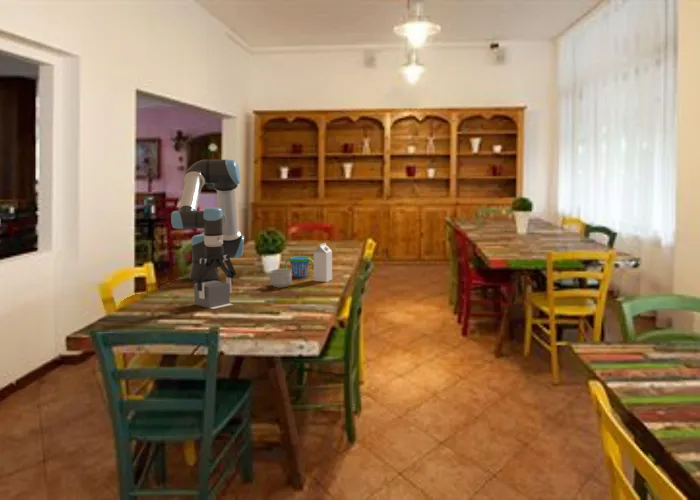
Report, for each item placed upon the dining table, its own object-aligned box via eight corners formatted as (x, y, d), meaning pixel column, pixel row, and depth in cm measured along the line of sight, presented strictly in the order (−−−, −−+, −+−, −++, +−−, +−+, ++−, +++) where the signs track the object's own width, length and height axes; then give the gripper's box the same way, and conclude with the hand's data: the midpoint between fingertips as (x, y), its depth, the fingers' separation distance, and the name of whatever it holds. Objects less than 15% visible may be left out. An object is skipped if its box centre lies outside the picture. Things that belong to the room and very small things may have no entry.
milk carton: (313, 281, 294) (313, 244, 292) (319, 278, 301) (319, 242, 298) (326, 282, 292) (326, 244, 289) (332, 279, 298) (332, 243, 295)
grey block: (194, 304, 244) (194, 283, 243) (215, 300, 252) (214, 280, 251) (209, 308, 238) (208, 287, 237) (229, 303, 245) (228, 283, 244)
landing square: (198, 305, 243) (198, 304, 243) (218, 301, 250) (218, 300, 250) (213, 309, 236) (213, 308, 236) (233, 304, 244) (233, 304, 244)
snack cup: (282, 277, 304) (282, 258, 303) (289, 274, 314) (288, 255, 313) (310, 279, 300) (310, 259, 299) (316, 275, 310) (316, 256, 309)
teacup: (287, 289, 275) (287, 272, 274) (266, 288, 277) (265, 271, 276) (296, 283, 289) (296, 267, 287) (275, 282, 291) (275, 267, 290)
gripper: (193, 249, 228) (195, 302, 232) (243, 242, 247) (245, 291, 250) (182, 247, 233) (184, 299, 236) (232, 241, 252) (234, 289, 255)
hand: (215, 295), depth 243 cm, fingers open, 13 cm apart
